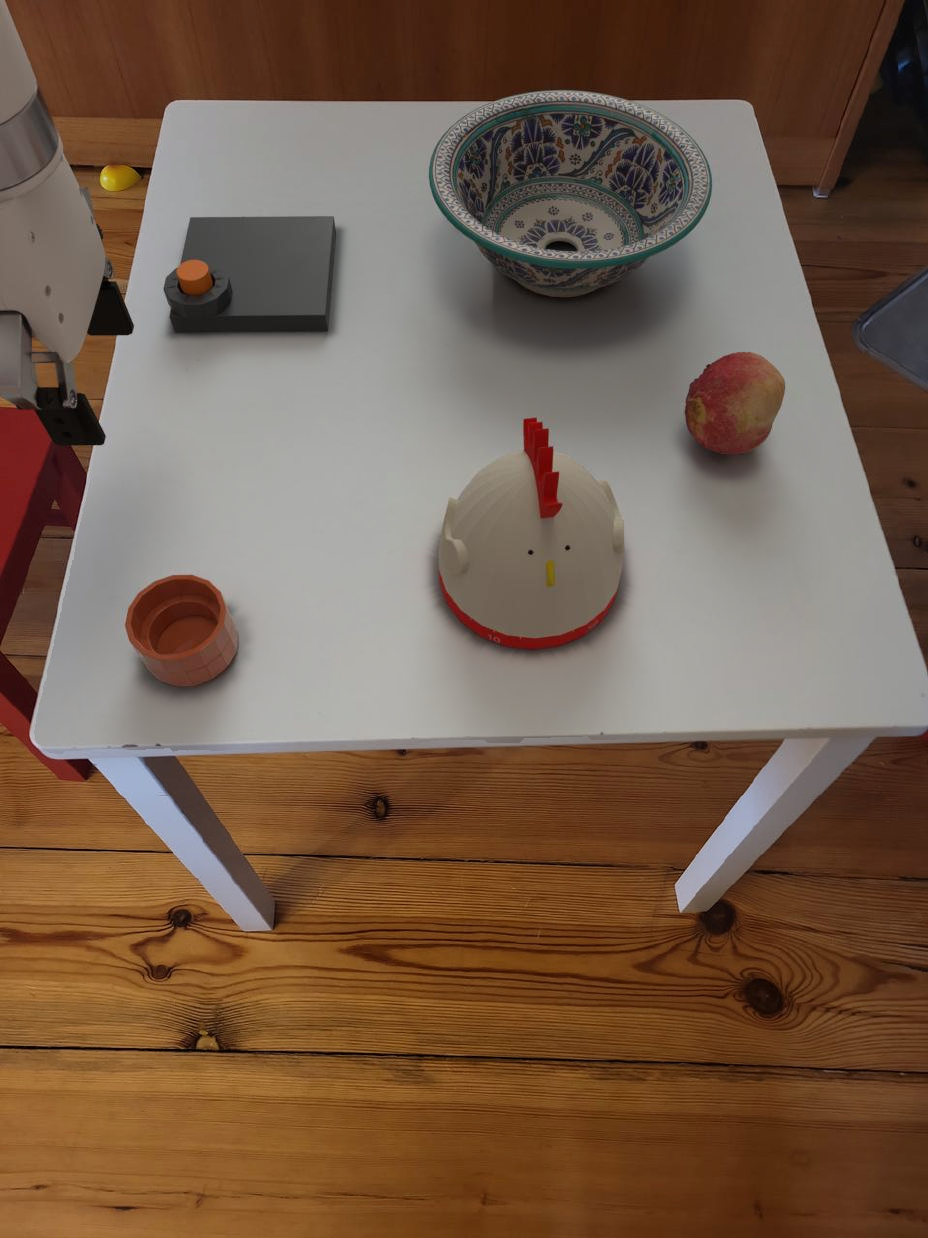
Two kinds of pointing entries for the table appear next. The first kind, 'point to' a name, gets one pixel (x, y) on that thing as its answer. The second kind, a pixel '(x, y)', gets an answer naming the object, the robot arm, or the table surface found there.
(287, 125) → the table surface
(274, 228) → the scale
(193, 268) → the button
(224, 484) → the table surface
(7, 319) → the robot arm
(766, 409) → the fruit
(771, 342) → the table surface
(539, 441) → the kitchen timer
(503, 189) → the bowl
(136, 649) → the terracotta bowl
